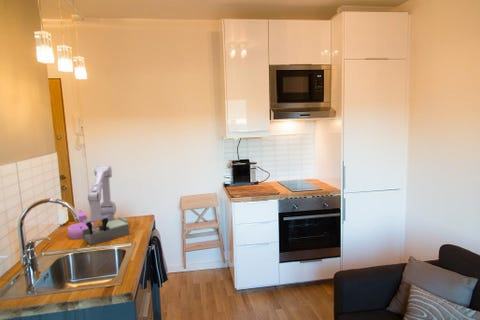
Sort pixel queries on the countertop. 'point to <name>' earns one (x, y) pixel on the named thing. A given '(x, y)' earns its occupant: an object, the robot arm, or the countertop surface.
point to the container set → (78, 227)
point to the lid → (117, 223)
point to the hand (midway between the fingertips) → (98, 232)
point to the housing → (104, 234)
